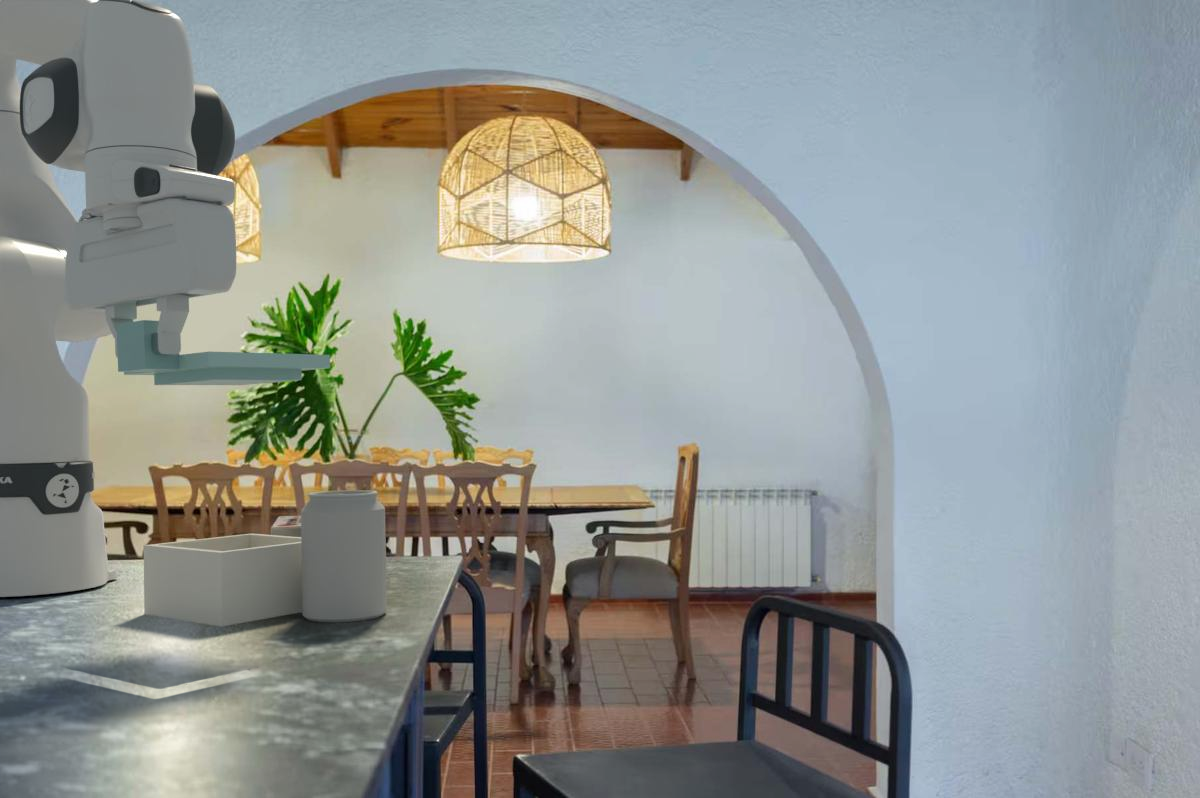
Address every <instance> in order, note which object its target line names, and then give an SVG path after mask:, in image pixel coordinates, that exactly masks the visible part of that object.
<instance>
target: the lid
mask: <svg viewBox="0 0 1200 798" xmlns="http://www.w3.org/2000/svg"><path fill="white" fill-rule="evenodd" d="M158 323H159V320H149V319H144V320H142V319H141V320H135V321H133V322H128V323H121V324H117V349H118V358H117V371H118V373H119V372H120V373H123V375H124V376H153V377H154V379H153V381H154V384H153V385H154V386H247V385H248V386H249V385H256V384H257V385H259V384H271V383H272V384H273V383H284V382H293V381H294V382H295V381H302V379H303V375H302V371H303V372H304V371H311V370H312V371H313V370H322V369H326V370H327V369H330V368H331V355H330V354H318V353H317V354H316V353H315V354H308V353H307V354H305V353H278V352H277V353H275V352H274V353H272V352H271V353H269V352H242V351H241V352H237V351H236V352H235V351H233V352H232V351H203V352H202V351H201V352H194V353H186V354H180V353H179V354H175V355H155V354H154V353H153V352H152V345H153V344H152V342H151V334H153V333H158V332H157V328H158Z"/></svg>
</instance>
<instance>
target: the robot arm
mask: <svg viewBox="0 0 1200 798" xmlns="http://www.w3.org/2000/svg"><path fill="white" fill-rule="evenodd" d="M17 60H19V61H24V62H28V63H31V64H36V65H40V66H39V67H37V68H36V69H35V70H34V71H32V72H31V73H30V74H29V75H28V76H26V77H25V78H24V79H23V81H22V85H20V82H19V79H18V75H17ZM194 78H195V77H194V69H193V59H192V51H191V47H190V40H189V37H188V33H187V30H186V27H185V23H184V21H182V19H181V18H180V16H178V15H177V14H175V13H174V12H172V11H171V10H169V9H167V8H164V7H161V6H158V5H154V4H151V3H148V2H142V1H138V0H0V598H7V597H26V596H39V595H50V594H61V593H68V592H75V591H81V590H86V589H87V590H88V589H91V588H96V587H101V586H104V585H106V584H107V582H108V581H112V580H115V579H118V571H117V569H116V568H114V569H113V568H109V562H108V552H107V541H106V539H107V538H106V530H105V519H104V513H103V511H102V509H101V508H100V507H99V506H98V505H97V504H96V503H95V502H94V500H93V498H92V495H91V493H92V492H93V491H94V489H95V483H94V481H95V480H94V479H95V477H96V476H95V471H94V462H93V461H92V460H90V435H89V434H90V432H89V430H90V429H89V427H90V426H89V425H90V423H89V418H90V417H89V396H88V394H87V391H86V390H85V388H84V386H83V385H82V384H81V383H80V382H79V381H78V380H77V379H76V378H74V377H73V375H72V374H70V372H69V370H68V369H67V368H66V366H65V364H64V361H63V359H62V357H61V354H60V351H59V348H58V344H57V341H58V342H67V343H77V342H78V343H79V342H83V341H89V340H95V339H99V338H103V337H107V336H110V335H112V338H113V339H114V344H115V346H114V347H115V348H114V349H115V351H114V352H115V357H116V358H117V359H118V349H117V324H121V323H128V322H134V320H137V319H138V316H137V315H138V313H137V311H138V309H137V307H142V306H148V305H155V304H156V311H157V312H160V314H159V319H158V321H159V323H158V328H157V332H158V333H153V334H151V342H152V344H153V345H152V352H153V353H154V354H155V355H175V354H179V355H180V353H181V351H182V350H181V349H182V343H181V342H182V341H181V340H182V338H181V337H182V336H181V334H182V332H183V329H184V327H185V323H186V322H187V321H186V320H187V318H188V315H189V312H190V302H189V301H190V300H189V299H191V298H198V297H203V296H204V297H205V296H211V295H216V294H222V293H226V292H227V293H228V292H229V291H230V289H231V288H232V286H233V284H234V281H235V278H236V275H237V237H236V236H237V235H236V224H235V218H234V215H233V212H232V210H231V209H230V208H229V206H231V205H233V203H234V202H235V198H236V187H235V186H236V185H235V182H234V180H232V179H231V178H229V177H224V176H220V174H221V173H222V172H223V171H224V169H226V167H227V166H228V164H229V163H230V161H231V159H232V156H233V154H234V149H235V143H236V132H235V126H234V122H233V120H232V116H231V113H230V112H229V110H228V109H227V106H226V105H225V102H224V101H223V100H222V98H221V97H220V95H218V93H217V92H216V90H215V89H214V88H212V87H211V86H210V85H207V84H202V83H196V82H195V79H194ZM50 165H51V166H54V167H56V168H60V169H63V170H64V169H65V170H69V171H70V170H71V171H77V172H83V173H84V174H85V175H84V176H85V208H83V210H82V211H81V216H80V218H79V219H78V218H77V217H76V215H75V214H74V212H73V211H72V209H71V208H70V206H69V205H68V203H67V201H66V200H65V198H64V196H63V195H62V193H61V191H60V190H59V187H58V186H57V183H56V180H55V177H53V174H52V170H51V168H50Z"/></svg>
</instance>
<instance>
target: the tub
mask: <svg viewBox="0 0 1200 798" xmlns="http://www.w3.org/2000/svg"><path fill="white" fill-rule="evenodd" d="M143 582H144V583H143V595H144V596H143V600H144V601H143V602H144V603H143V604H144V605H143V608H144V609H143V611H144V613H143V614H144V615H146V616H151V617H157V618H163V619H164V618H165V619H171V620H176V621H177V620H178V621H185V622H190V623H194V624H195V623H196V624H200V625H201V624H202V625H209V626H213V627H221V628H223V627H228V626H234V625H239V624H244V623H250V622H255V621H261V620H267V619H268V620H269V619H272V618H277V617H282V616H283V617H284V616H288V615H289V616H290V615H294V614H302V549H301V537H291V536H278V535H271V534H263V533H245V534H243V533H242V534H235V535H225V536H218V537H216V536H215V537H208V538H199V539H190V540H180V541H171V542H163V543H162V542H160V543H154V544H145V545H143Z"/></svg>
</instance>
